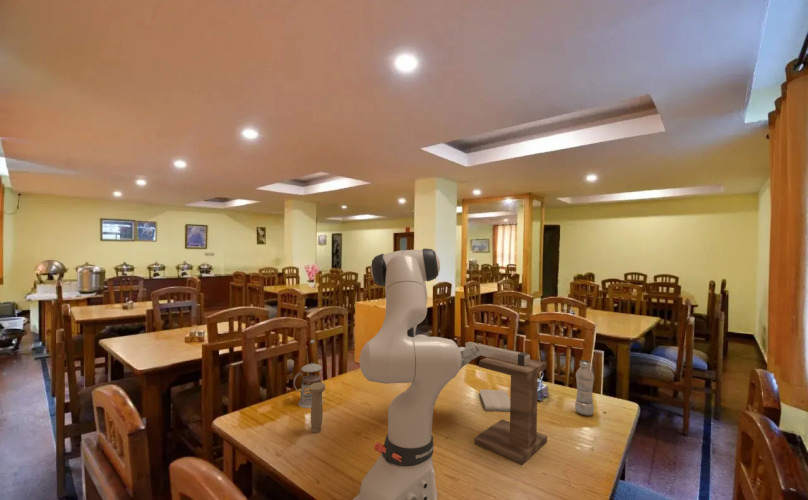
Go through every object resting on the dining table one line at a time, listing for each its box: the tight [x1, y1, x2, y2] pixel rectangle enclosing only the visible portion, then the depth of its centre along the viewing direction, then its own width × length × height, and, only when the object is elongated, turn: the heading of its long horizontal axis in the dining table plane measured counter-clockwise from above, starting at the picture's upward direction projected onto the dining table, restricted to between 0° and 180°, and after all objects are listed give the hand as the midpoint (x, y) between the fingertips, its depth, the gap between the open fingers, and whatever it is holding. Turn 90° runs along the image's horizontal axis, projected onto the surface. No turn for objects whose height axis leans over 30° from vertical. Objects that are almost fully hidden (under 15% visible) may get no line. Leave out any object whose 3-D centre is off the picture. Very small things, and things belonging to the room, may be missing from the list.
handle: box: [308, 382, 326, 434], centre depth 120 cm, size 5×6×15 cm
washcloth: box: [479, 388, 510, 413], centre depth 146 cm, size 12×18×3 cm, turn 177°
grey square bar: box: [464, 341, 531, 366], centre depth 119 cm, size 3×22×3 cm, turn 47°
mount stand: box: [473, 357, 548, 466], centre depth 114 cm, size 18×16×26 cm
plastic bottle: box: [574, 359, 595, 416], centre depth 137 cm, size 6×7×20 cm
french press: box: [293, 339, 324, 409], centre depth 141 cm, size 10×12×25 cm
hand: (479, 348), depth 123 cm, fingers closed on grey square bar, 3 cm apart
